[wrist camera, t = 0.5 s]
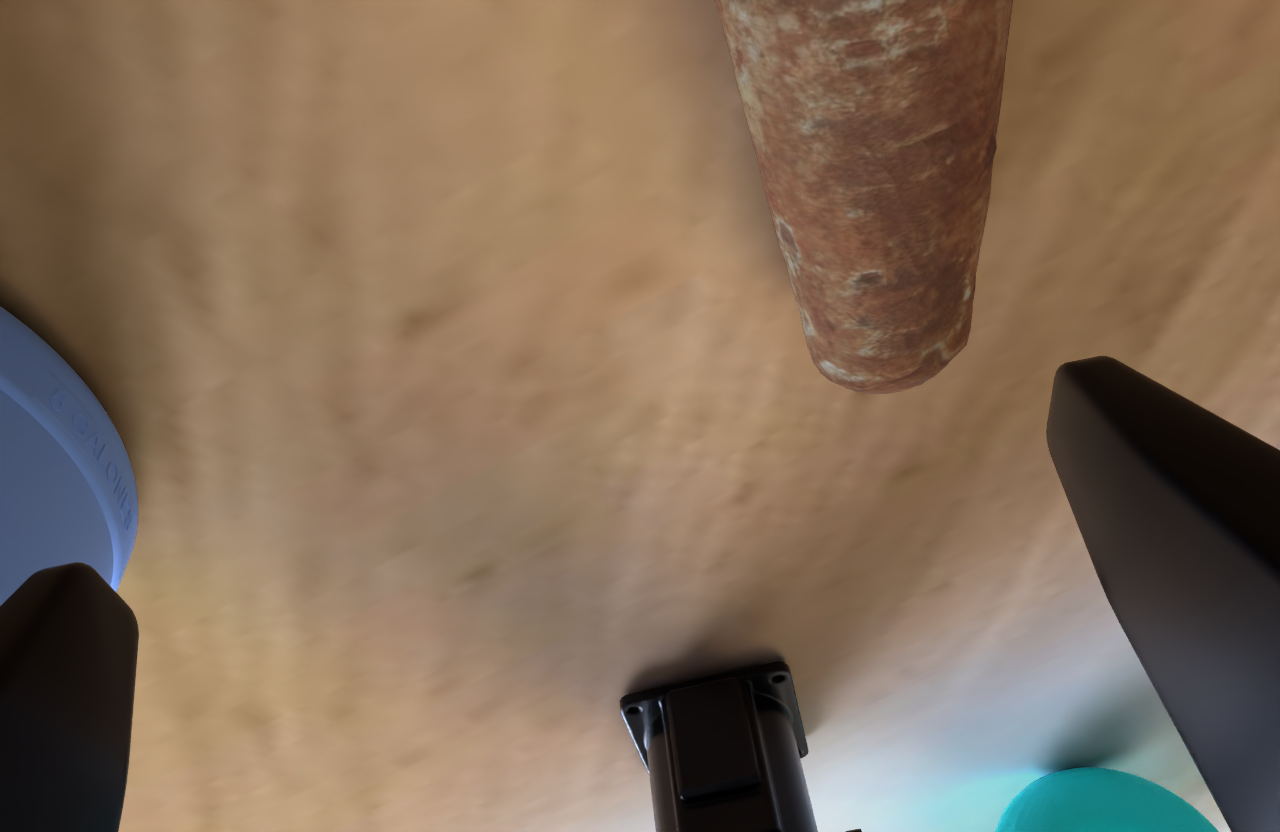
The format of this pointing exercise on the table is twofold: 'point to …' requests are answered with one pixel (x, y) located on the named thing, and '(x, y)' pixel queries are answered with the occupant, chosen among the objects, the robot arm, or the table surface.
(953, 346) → the brown cylinder
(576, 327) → the table surface
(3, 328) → the water jug
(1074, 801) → the donuts
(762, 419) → the table surface
